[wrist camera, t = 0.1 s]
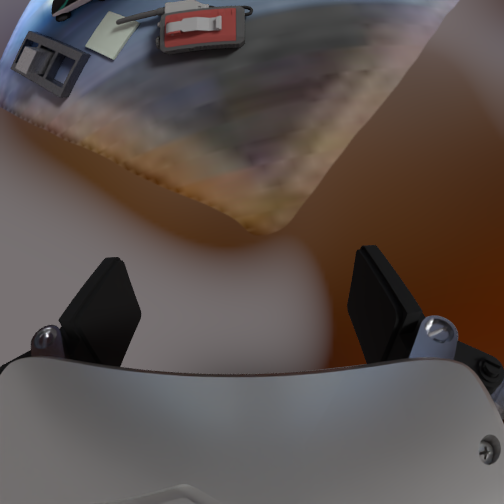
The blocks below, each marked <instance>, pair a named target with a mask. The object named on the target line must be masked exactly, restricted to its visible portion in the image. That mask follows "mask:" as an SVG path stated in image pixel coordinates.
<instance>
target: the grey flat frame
mask: <svg viewBox="0 0 504 504" xmlns="http://www.w3.org/2000/svg"><path fill="white" fill-rule="evenodd" d="M33 42H36V43H38V44H39V45H38V48H47V49H48V48H50V49H52V50H54V51H56V52H55V54H54V56H53V58H52V60H51V62H50V64H49V66H48V68H47V70H46V72H45V74H25V73H23V72H21V71H19V70H18V69H16V68H15V67H16V65H17V63H18V60H19V58H20V56H21V54H22V52H23V50H24V48H25V46H28V47H31V45H32V44H33ZM65 56H67V57H69V58H71V59H73V60H76V61H75V63H74V65H73V67H72V69H71V70H70V72H69V74H68V76H67V78H66V80H65V82H64V84H62V83H61V82H59V81H57V80H55V79H54V78H55V75H56V73H57V71H58V69H59V67H60V66H61V64H62V62H63V60H64V58H65ZM90 56H91V55H90V54H87V53H85V52H83V51H81V50H79V49H77V48H74V47H72V46H70V45H67V44H65V43H63V42H60V41H58V40H56V39H53V38H51V37H48V36H46V35H43V34H40V33H38V32H32V31H29V32H28V34H27V35H26V37H25V39H24V41H23V43H22V45H21V47H20V49H19V51H18V54H17V56H16V58H15V60H14V62H13V65H12V67H11V69H12V70H14V71H15V72H17V73H19V74H21V75H22V76H24V77H26V78H28V79H29V80H31V81H33V82H35V83H36V84H38V85H40V86H41V87H43V88H45V89H47V90H48V91H50V92H52V93H53V94H55V95H57V96H58V97H69V95H70V93H71V91H72V89H73V87H74V85H75V83H76V81H77V79H78V77H79V75H80V73H81V72H82V70H83V68H84V66H85V64H86V63H87V61H88V59H89V57H90Z"/></svg>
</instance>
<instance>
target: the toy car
mask: <svg viewBox="0 0 504 504" xmlns="http://www.w3.org/2000/svg"><path fill="white" fill-rule="evenodd" d="M90 1H92V0H54V1H53V4H52V15H53V17H54V16H56V21H58V22H61V21H64V20H66V19H68V18H70V15H71V12H70V11H72V10H74V9H76V8H78V7H80V6H82V5H84V4H86V3H88V2H90ZM99 1H104V0H99Z"/></svg>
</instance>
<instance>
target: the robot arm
mask: <svg viewBox="0 0 504 504" xmlns="http://www.w3.org/2000/svg"><path fill="white" fill-rule="evenodd" d="M347 307H348V313H349V316H350V318H351V321H352V323H353V326H354V329H355V332H356V334H357V337H358V340H359V342H360V345H361V348H362V351H363V354H364V356H365V360H366V362H367V364H364V365H356V366H349V367H340V368H331V369H323V370H313V371H300V372H285V373H264V374H199V373H178V372H164V371H151V370H141V369H132V368H124V367H120V366H121V363H122V361H123V358H124V356H125V354H126V351H127V349H128V346H129V344H130V341H131V339H132V337H133V335H134V332H135V330H136V328H137V325H138V323H139V321H140V319H141V310H140V307H139V305H138V302H137V299H136V296H135V294H134V291H133V288H132V285H131V282H130V279H129V276H128V273H127V270H126V267H125V264H124V262H123V261H121V260H120V258H118V257H111V258H105V259H104V260H103V261H102V263H101V264H100V265H99V266H98V268H97V269H96V270H95V272H94V273H93V274H92V275H91V276H90V278H89V279H88V280H87V281H86V283H85V284H84V285H83V287H82V288H81V289H80V291H79V292H78V293H77V295H76V296H75V298H74V299H73V300H72V302H71V303H70V304H69V306H68V307H67V309H66V310H65V311H64V313H63V314H62V316H61V317H60V319H59V322H60V323H61V326H62V327H61V328H60V329H59V328H58V327H57V326H55V325H48V326H45V327H43V328H41V329H40V330H39V331H37V332H36V333H35V335H34V336H33V338H32V340H31V350H30V351H28V352H26V353H25V354H23V355H21V356H19V357H17V358H15V359H13V360H12V361H10V362H8V363H6V364H4V365H2V366H1V367H0V504H504V369H503V367H502V365H501V363H500V362H499V361H498V360H497V359H496V358H495V357H493V356H491V355H489V354H486V353H484V352H482V351H480V350H478V349H475V348H473V347H471V346H468V345H466V344H464V343H462V342H460V341H457V340H458V332H457V329H456V328H455V326H454V325H453V323H451V322H450V321H449V320H448V319H445V318H443V317H440V316H429V317H426V318H425V316H424V314H423V313H422V310H421V308H420V307H419V305H418V303H417V302H416V301H415V299H414V297H413V296H412V295H411V293H410V291H409V290H408V289H407V287H406V286H405V284H404V283H403V281H402V280H401V278H400V277H399V276H398V274H397V273H396V271H395V270H394V269H393V267H392V266H391V264H390V263H389V262H388V260H387V259H386V258H385V256H384V255H383V254H382V252H381V251H380V250H379V248H378V247H377V246H376V245H368V246H362V247H361V249H360V250H357V252H356V257H355V263H354V270H353V276H352V282H351V288H350V293H349V298H348V304H347Z"/></svg>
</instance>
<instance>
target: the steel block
mask: <svg viewBox="0 0 504 504" xmlns="http://www.w3.org/2000/svg"><path fill="white" fill-rule="evenodd" d="M55 52H56V51H53V50H51V49H47V48H38V47H28V46H25V48H24V50H23V52H22V54H21V56H20V58H19V60H18V63H17V65H16V67H15V68H16V69H18V70H19V71H21V72H23V73H25V74H45V72H46V70H47V68H48V66H49V64H50V62H51V60H52V58H53V56H54V54H55Z"/></svg>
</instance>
